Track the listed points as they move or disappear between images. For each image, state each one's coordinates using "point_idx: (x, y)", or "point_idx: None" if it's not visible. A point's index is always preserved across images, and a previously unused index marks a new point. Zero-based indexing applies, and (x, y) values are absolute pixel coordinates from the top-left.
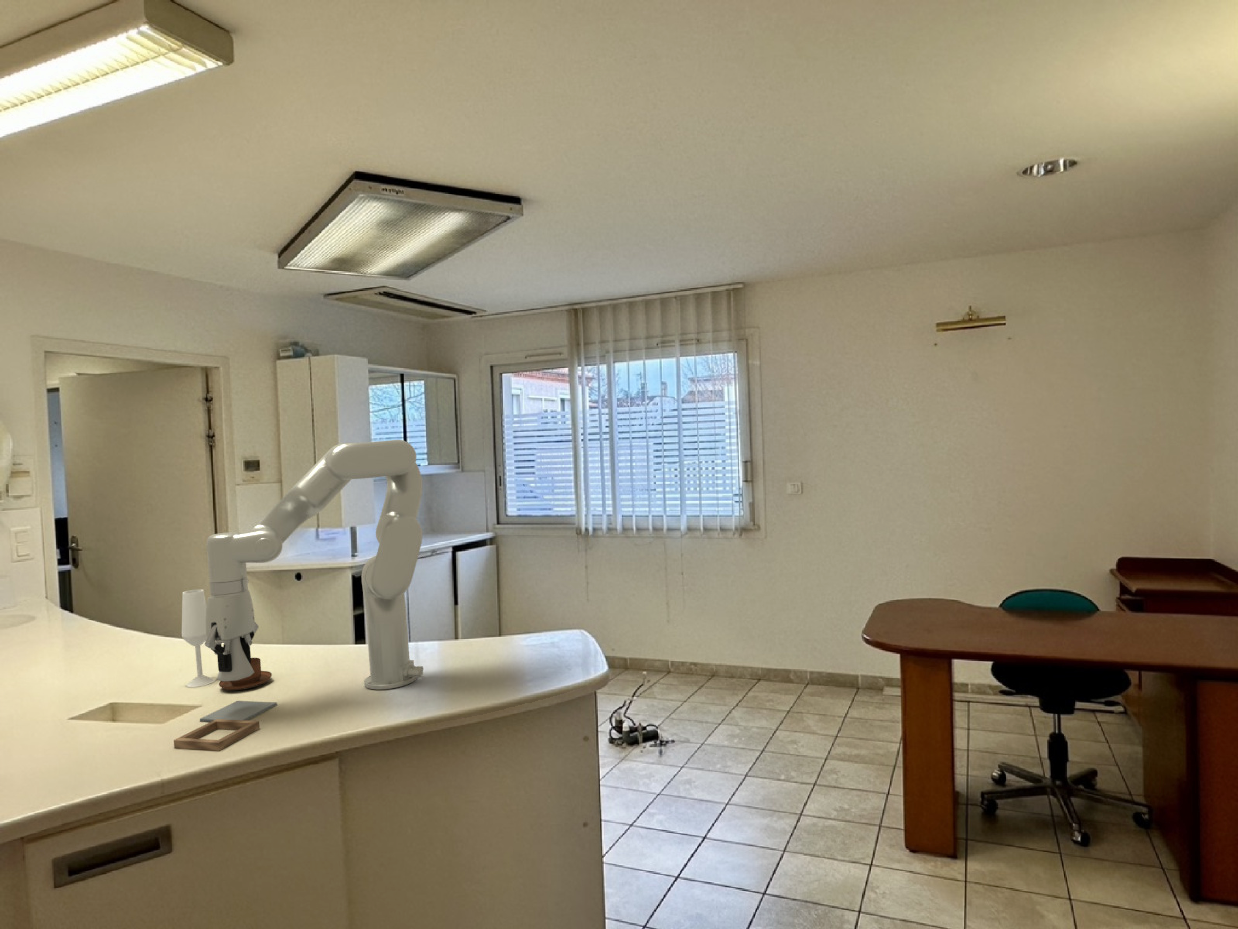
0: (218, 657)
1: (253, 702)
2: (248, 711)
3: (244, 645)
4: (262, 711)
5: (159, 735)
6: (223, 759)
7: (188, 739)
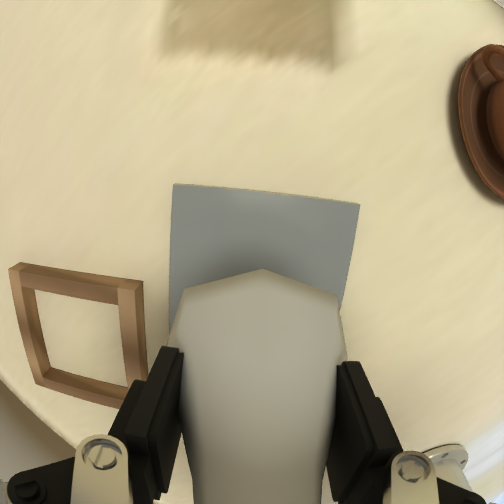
0: (109, 435)
1: (336, 283)
2: None
3: (352, 501)
4: None
5: (71, 135)
6: (30, 395)
7: (19, 306)
